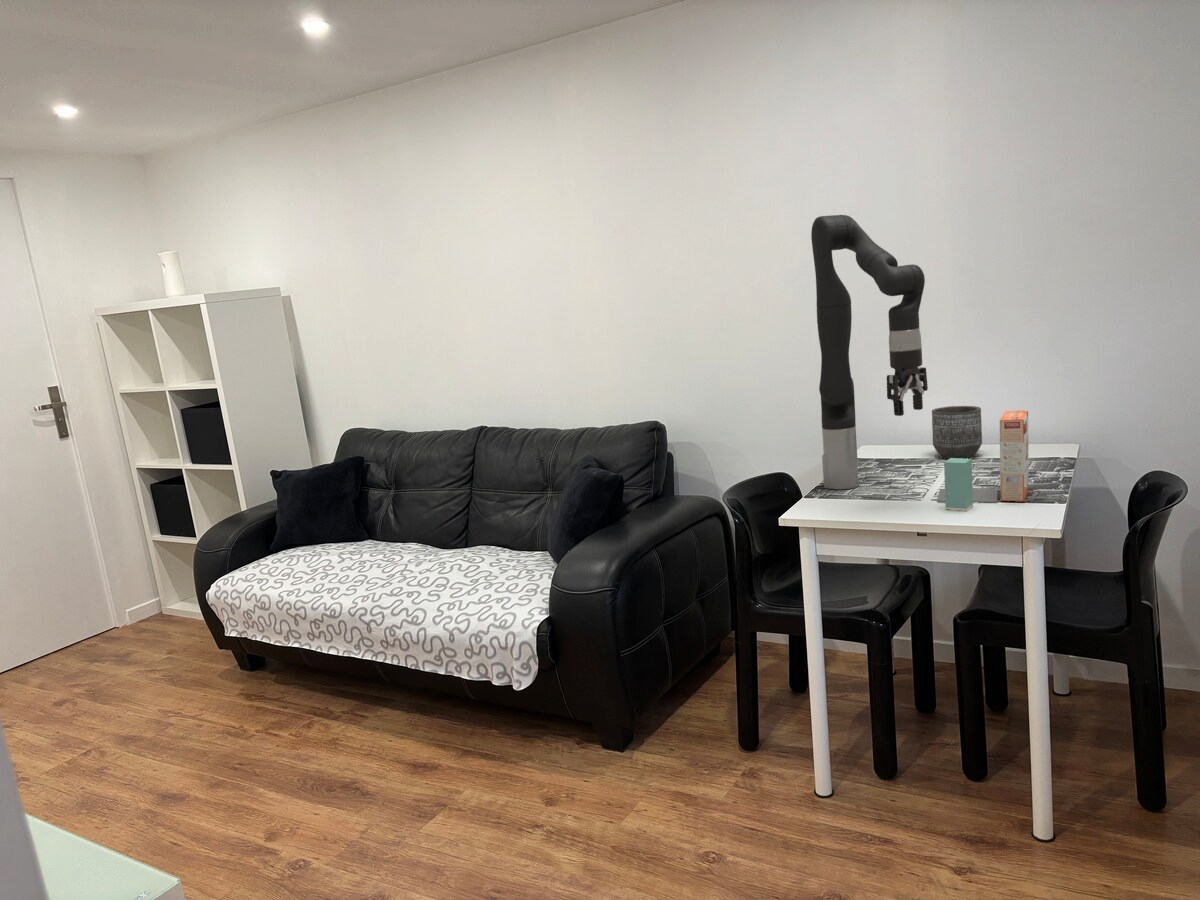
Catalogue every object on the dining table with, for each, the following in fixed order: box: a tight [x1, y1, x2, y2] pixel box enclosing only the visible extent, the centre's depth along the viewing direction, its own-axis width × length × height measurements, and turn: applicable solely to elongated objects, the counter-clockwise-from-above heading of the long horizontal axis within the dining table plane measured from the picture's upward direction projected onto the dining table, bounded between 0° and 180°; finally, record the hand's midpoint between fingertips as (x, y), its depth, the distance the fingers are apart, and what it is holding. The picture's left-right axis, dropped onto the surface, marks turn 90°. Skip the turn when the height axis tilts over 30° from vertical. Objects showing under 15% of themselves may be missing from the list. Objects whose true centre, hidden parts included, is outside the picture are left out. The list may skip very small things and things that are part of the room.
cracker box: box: [999, 410, 1029, 503], centre depth 219 cm, size 14×6×21 cm, turn 151°
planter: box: [931, 405, 983, 460], centre depth 270 cm, size 14×14×15 cm
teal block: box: [943, 458, 974, 512], centre depth 214 cm, size 5×5×12 cm
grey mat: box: [936, 488, 999, 504], centre depth 224 cm, size 14×13×1 cm
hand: (908, 412), depth 217 cm, fingers open, 8 cm apart
